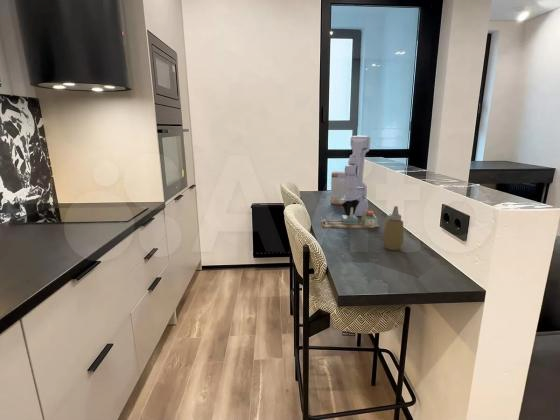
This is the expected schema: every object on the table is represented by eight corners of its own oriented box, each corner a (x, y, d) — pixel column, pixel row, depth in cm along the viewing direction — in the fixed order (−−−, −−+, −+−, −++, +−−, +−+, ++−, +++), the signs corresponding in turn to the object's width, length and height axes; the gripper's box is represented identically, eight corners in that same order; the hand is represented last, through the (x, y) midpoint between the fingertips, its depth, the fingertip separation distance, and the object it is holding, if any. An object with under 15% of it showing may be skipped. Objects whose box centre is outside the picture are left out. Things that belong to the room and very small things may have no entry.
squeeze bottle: (388, 243, 141) (391, 203, 136) (406, 248, 135) (410, 206, 131) (378, 248, 135) (381, 206, 131) (397, 253, 130) (401, 210, 125)
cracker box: (354, 204, 208) (355, 172, 203) (350, 206, 203) (352, 173, 198) (334, 202, 215) (335, 170, 210) (330, 204, 210) (331, 172, 205)
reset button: (372, 218, 168) (373, 210, 167) (374, 221, 163) (375, 213, 162) (364, 218, 168) (364, 210, 167) (365, 221, 164) (366, 213, 163)
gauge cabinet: (373, 222, 170) (373, 213, 169) (377, 227, 162) (377, 218, 161) (361, 222, 170) (362, 213, 169) (364, 227, 162) (365, 218, 161)
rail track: (375, 222, 170) (375, 217, 170) (379, 227, 162) (379, 222, 161) (321, 222, 172) (321, 217, 171) (322, 227, 163) (322, 222, 163)
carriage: (355, 220, 170) (356, 205, 168) (357, 224, 163) (358, 209, 161) (341, 220, 170) (342, 205, 168) (343, 224, 163) (344, 209, 161)
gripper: (354, 185, 169) (353, 210, 173) (335, 189, 161) (334, 215, 164) (365, 187, 164) (363, 213, 167) (346, 191, 155) (344, 218, 159)
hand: (349, 214), depth 166 cm, fingers closed on carriage, 3 cm apart
